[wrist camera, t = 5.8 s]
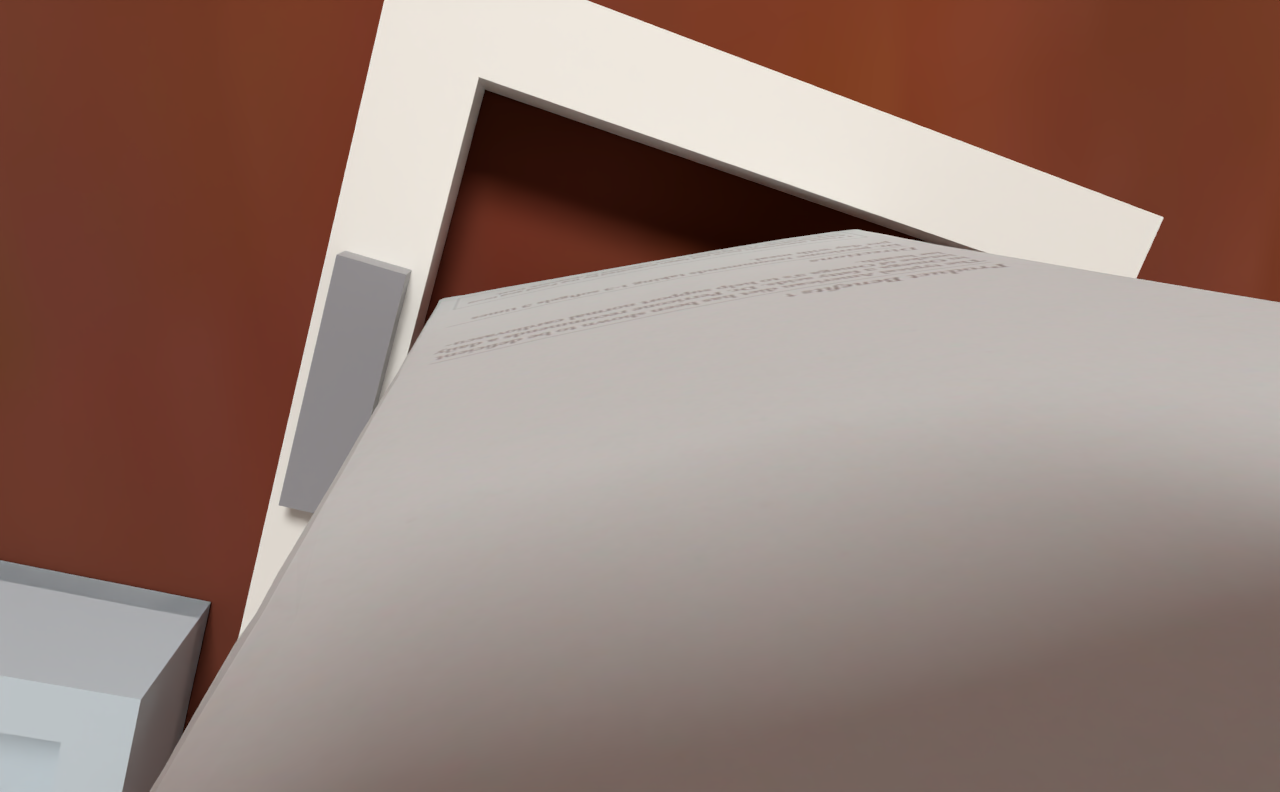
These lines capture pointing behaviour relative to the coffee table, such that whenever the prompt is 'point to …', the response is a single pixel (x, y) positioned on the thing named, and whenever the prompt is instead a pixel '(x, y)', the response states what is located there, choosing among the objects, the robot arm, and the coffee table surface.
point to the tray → (91, 680)
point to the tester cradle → (640, 111)
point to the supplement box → (787, 541)
